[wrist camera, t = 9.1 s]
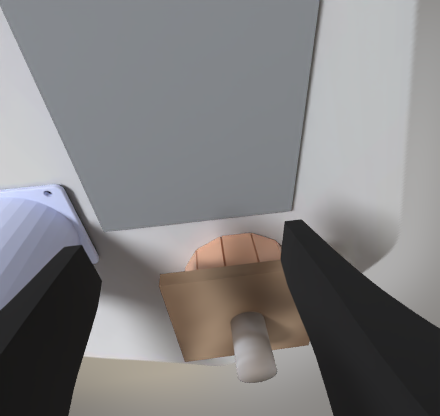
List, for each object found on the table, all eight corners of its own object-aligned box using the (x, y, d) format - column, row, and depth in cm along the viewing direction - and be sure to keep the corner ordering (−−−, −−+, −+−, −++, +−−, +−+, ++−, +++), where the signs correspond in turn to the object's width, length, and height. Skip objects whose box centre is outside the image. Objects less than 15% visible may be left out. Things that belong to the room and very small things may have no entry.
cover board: (185, 351, 26) (185, 413, 22) (160, 274, 19) (153, 347, 15) (304, 334, 26) (325, 392, 22) (326, 253, 19) (363, 319, 15)
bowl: (193, 305, 29) (194, 346, 26) (179, 241, 23) (177, 284, 19) (282, 293, 30) (295, 333, 26) (291, 227, 23) (310, 267, 20)
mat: (105, 227, 21) (103, 232, 21) (-4, -19, 12) (-12, -19, 11) (289, 206, 22) (291, 210, 21) (320, -42, 13) (325, -44, 12)
